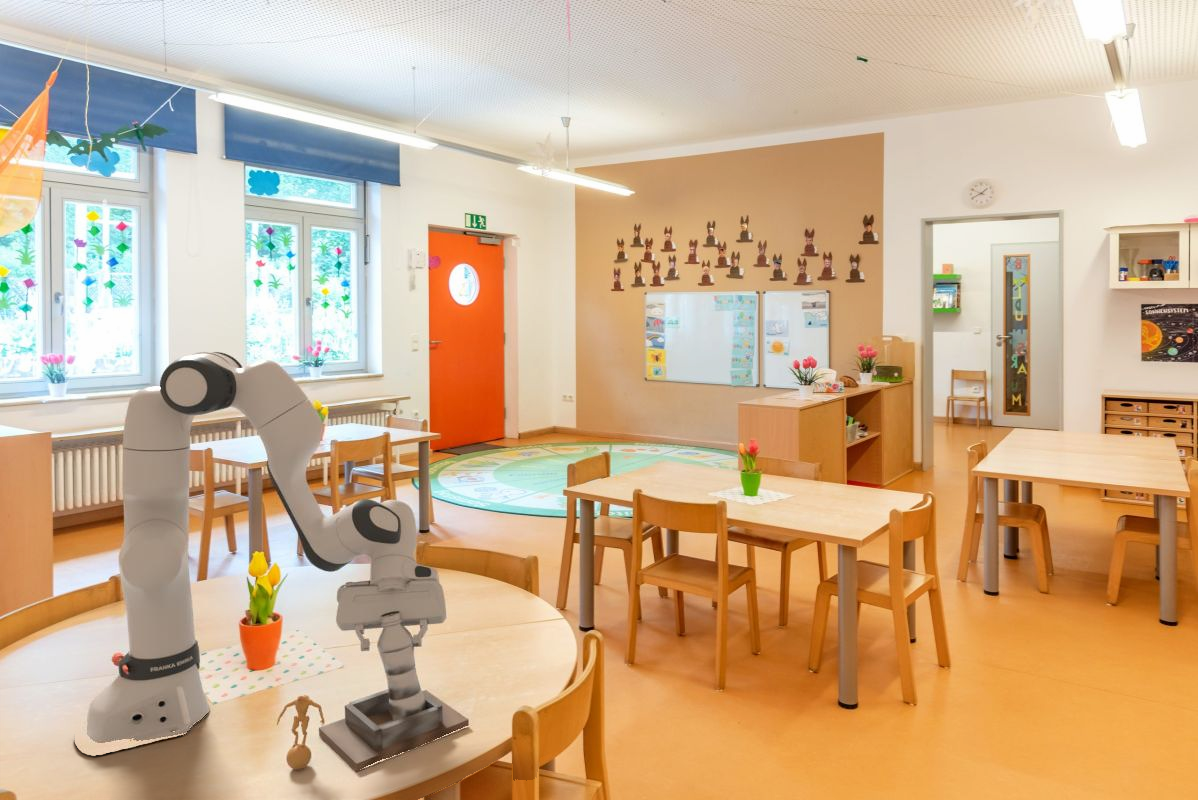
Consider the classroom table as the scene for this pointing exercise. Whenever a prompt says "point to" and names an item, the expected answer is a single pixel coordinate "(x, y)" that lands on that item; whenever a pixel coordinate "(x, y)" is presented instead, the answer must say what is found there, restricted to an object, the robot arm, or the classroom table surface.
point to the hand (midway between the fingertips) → (391, 647)
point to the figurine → (300, 752)
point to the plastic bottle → (400, 667)
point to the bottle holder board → (387, 729)
